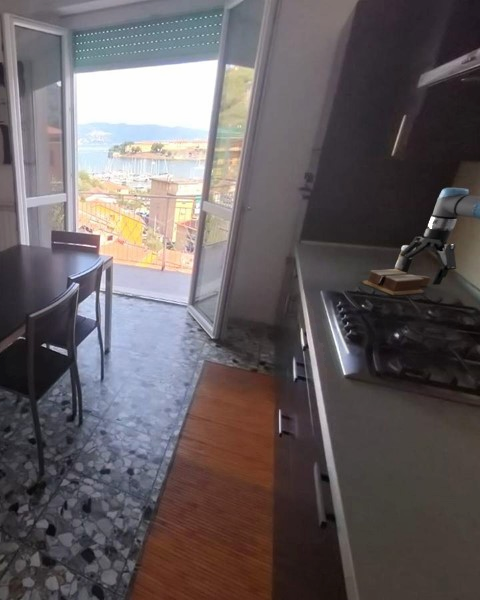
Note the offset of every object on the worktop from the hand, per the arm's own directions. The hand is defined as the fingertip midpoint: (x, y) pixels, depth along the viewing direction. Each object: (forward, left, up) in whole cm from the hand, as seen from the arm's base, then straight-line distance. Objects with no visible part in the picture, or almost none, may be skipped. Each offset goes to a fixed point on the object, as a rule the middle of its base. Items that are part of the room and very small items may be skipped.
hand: (419, 278), depth 150 cm
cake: (0, +12, -3) cm, 12 cm away
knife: (0, +8, -2) cm, 8 cm away
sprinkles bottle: (+14, -7, -4) cm, 16 cm away
